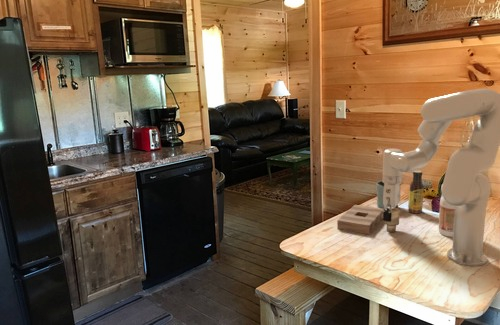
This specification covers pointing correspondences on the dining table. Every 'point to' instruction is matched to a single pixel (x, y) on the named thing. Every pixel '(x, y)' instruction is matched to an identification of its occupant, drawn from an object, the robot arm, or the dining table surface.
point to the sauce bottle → (416, 193)
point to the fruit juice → (446, 217)
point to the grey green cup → (380, 194)
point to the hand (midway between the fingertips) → (390, 217)
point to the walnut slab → (360, 219)
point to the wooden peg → (393, 220)
